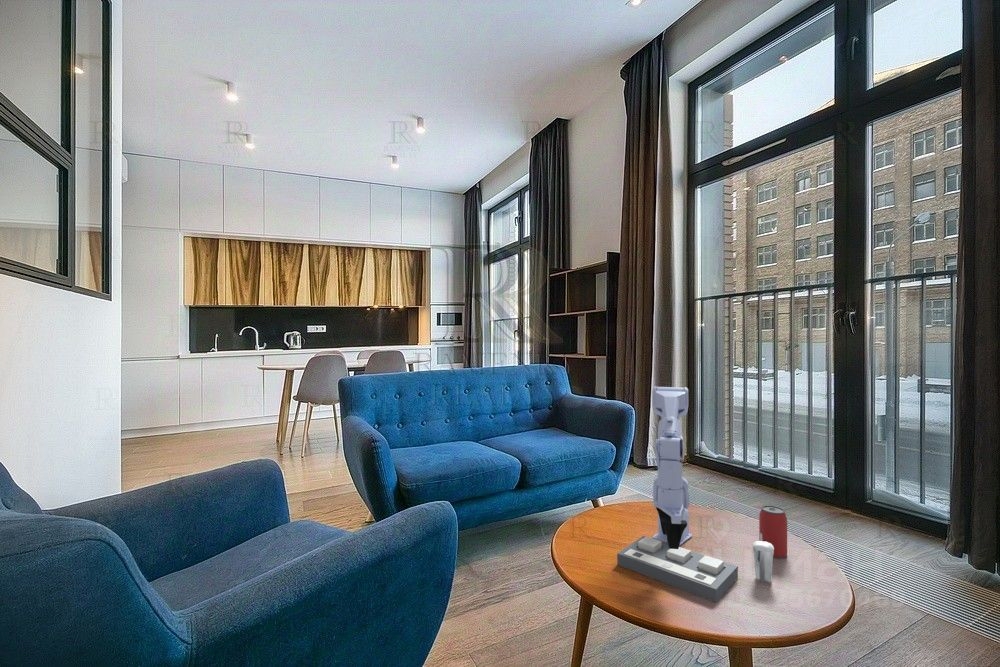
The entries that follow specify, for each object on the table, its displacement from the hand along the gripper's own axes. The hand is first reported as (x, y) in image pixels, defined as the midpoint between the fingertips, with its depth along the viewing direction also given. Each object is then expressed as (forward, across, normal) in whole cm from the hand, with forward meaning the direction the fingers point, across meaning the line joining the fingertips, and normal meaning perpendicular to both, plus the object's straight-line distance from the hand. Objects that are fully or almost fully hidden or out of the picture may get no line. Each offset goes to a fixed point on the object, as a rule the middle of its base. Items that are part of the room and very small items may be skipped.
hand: (670, 541), depth 119 cm
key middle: (+8, -5, +3) cm, 10 cm away
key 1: (+8, -10, -3) cm, 13 cm away
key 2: (+8, 0, +10) cm, 12 cm away
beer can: (+9, -16, +30) cm, 35 cm away
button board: (+9, -3, +2) cm, 10 cm away
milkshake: (+9, -2, +22) cm, 24 cm away
